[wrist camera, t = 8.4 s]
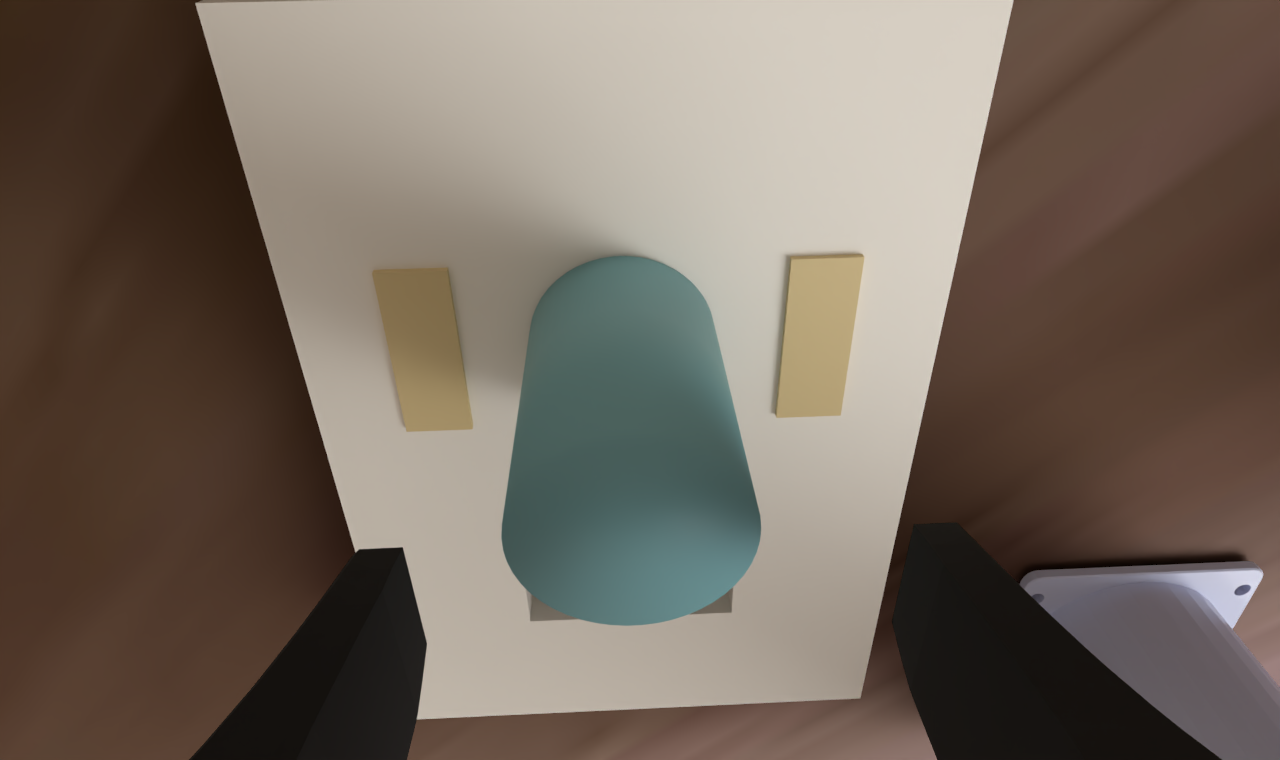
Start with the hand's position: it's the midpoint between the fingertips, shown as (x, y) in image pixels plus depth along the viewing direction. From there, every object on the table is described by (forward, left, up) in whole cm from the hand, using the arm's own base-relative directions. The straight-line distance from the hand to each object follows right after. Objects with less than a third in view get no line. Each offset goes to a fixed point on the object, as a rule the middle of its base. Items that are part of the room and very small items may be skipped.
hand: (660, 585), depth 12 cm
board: (-3, 0, -10) cm, 11 cm away
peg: (0, 0, -10) cm, 10 cm away
